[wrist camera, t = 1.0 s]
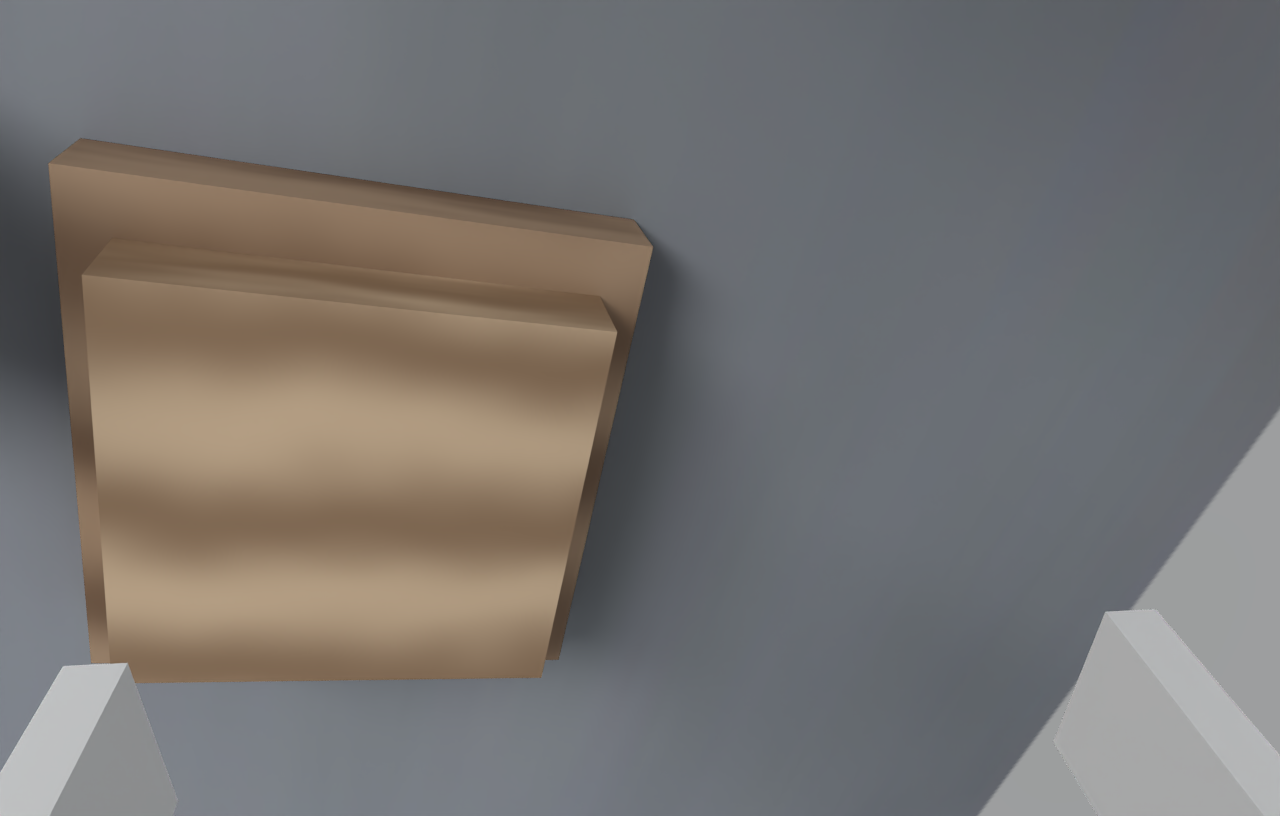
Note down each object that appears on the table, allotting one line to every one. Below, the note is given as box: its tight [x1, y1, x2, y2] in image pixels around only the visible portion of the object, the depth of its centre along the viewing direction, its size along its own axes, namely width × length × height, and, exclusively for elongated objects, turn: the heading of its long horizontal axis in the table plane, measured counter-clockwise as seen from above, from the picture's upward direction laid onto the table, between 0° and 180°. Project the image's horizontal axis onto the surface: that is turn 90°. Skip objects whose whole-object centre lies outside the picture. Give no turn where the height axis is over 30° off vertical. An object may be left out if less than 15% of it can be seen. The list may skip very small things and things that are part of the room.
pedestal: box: [48, 138, 653, 683], centre depth 32 cm, size 19×18×6 cm
